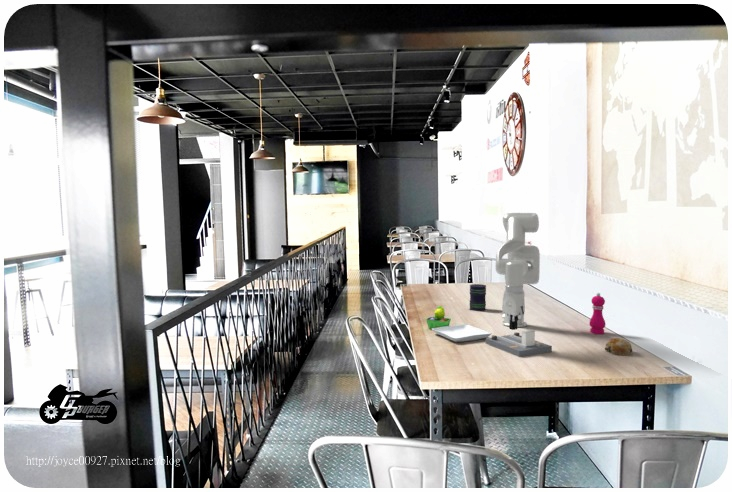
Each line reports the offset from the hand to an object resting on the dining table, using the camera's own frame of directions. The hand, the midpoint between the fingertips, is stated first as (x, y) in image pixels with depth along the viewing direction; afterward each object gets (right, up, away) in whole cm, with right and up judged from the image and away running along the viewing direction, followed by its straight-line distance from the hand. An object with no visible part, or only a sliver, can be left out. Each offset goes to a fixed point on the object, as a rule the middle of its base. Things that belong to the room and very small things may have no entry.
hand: (513, 329), depth 217 cm
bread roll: (+42, -9, -10) cm, 44 cm away
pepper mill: (+49, -6, +22) cm, 54 cm away
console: (+1, -8, -3) cm, 8 cm away
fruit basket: (-29, -5, +32) cm, 43 cm away
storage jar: (+2, -2, +79) cm, 79 cm away
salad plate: (-21, -7, +16) cm, 27 cm away
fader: (+4, -5, -9) cm, 11 cm away
